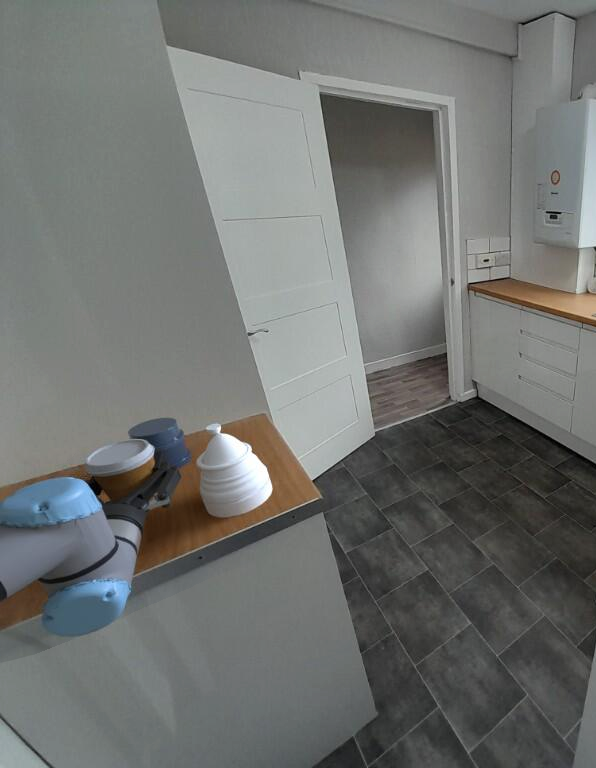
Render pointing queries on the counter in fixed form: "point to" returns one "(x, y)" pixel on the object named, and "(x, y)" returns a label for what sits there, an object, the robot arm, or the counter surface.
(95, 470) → the disposable coffee cup
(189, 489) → the counter surface
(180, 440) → the cup stack
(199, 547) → the counter surface
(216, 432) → the honey pot
